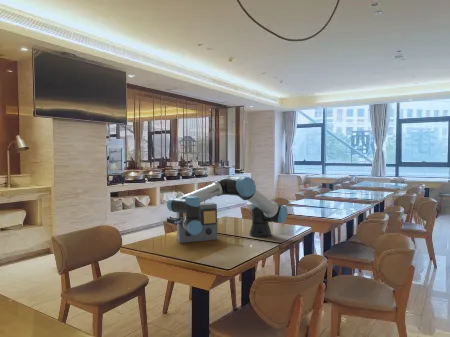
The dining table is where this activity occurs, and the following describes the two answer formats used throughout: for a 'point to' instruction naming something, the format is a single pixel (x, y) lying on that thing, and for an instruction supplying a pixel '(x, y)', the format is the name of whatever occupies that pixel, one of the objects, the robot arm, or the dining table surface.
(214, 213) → the switch key
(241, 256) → the dining table surface
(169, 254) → the dining table surface
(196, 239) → the grey knob panel box
